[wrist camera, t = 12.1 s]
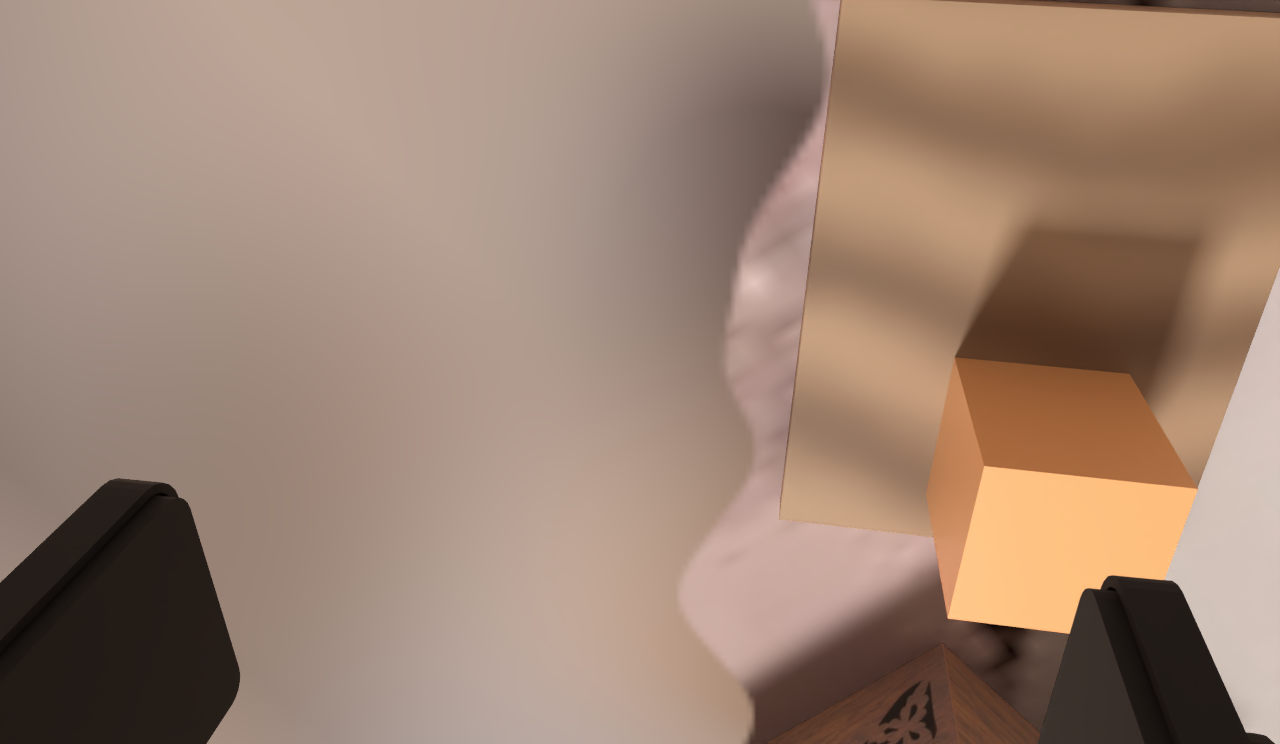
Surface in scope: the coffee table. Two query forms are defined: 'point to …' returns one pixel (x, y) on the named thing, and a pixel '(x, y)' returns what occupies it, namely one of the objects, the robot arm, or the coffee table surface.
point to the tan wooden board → (1028, 226)
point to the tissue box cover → (919, 710)
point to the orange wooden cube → (1048, 491)
